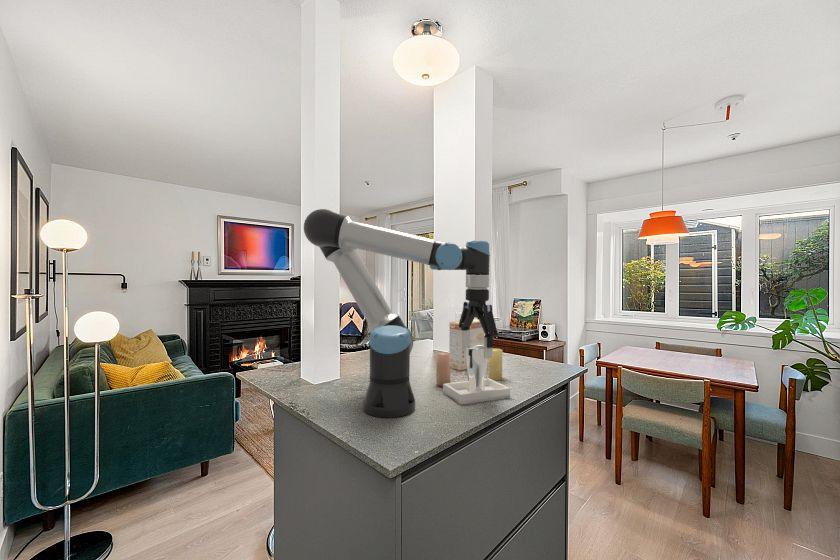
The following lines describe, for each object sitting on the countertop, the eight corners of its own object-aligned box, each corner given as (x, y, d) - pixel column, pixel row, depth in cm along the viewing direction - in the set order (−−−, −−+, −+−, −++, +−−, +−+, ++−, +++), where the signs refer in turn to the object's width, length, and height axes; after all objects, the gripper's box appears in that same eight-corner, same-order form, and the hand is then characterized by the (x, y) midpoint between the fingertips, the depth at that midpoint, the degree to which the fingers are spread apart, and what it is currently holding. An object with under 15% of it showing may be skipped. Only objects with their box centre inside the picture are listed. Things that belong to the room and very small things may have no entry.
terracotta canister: (439, 387, 129) (439, 355, 129) (434, 383, 134) (434, 352, 134) (452, 385, 131) (452, 354, 131) (447, 382, 136) (447, 352, 136)
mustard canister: (493, 381, 138) (493, 351, 138) (486, 377, 142) (486, 348, 142) (504, 379, 140) (505, 350, 139) (497, 376, 144) (497, 347, 144)
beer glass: (480, 397, 116) (481, 350, 116) (461, 393, 121) (462, 347, 120) (490, 392, 122) (491, 346, 122) (471, 388, 126) (472, 344, 126)
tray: (460, 404, 113) (460, 394, 113) (443, 392, 124) (443, 383, 124) (509, 397, 119) (510, 388, 119) (489, 386, 131) (489, 378, 131)
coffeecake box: (472, 362, 167) (472, 318, 166) (484, 365, 161) (485, 320, 161) (448, 367, 157) (448, 321, 157) (460, 370, 152) (461, 323, 151)
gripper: (510, 290, 111) (509, 361, 111) (468, 286, 134) (467, 345, 134) (488, 290, 108) (487, 363, 108) (449, 287, 131) (448, 347, 131)
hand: (476, 353), depth 121 cm, fingers open, 13 cm apart
